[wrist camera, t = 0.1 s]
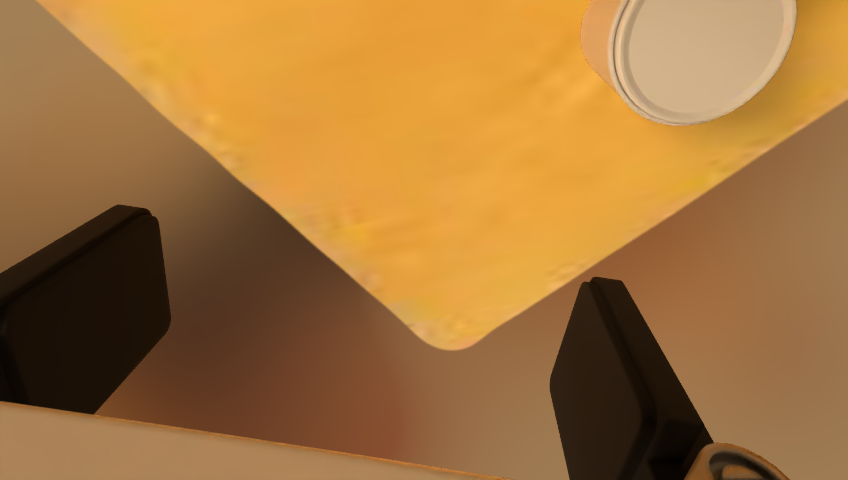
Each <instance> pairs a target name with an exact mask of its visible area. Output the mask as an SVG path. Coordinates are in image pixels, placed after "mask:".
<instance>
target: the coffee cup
mask: <svg viewBox="0 0 848 480" xmlns="http://www.w3.org/2000/svg"><path fill="white" fill-rule="evenodd" d="M796 20H797V1H796V0H591V1H590V3H589V5H588V7H587V9H586V11H585V14H584V16H583V20H582V24H581V31H580V40H581V47H582V51H583V54H584V56H585V59H586V60H587V62H588V64H589V65H590V66H591V68H592V69H593V70H594V71H595V72H596V73H597V74H598V75H599V76H600V77H601V78H602V79H603V80H604V81H605V82H606V83H607V84H608V85H609V86H610V87H611V88H612V89H613V90H614V91H616V92H617V93H618V94H619V95H620V97H621V98H622V99H623V100H624V102H625V103H626V104H627V105H628V106H629V107H630V108H631V109H632V110H634V111H635V112H636V113H638V114H639V115H641V116H643V117H645V118H647V119H649V120H651V121H654V122H657V123H661V124H666V125H674V126H688V125H696V124H701V123H705V122H708V121H712V120H714V119H717V118H719V117H722V116H724V115H726V114H728V113H730V112H732V111H734V110H736V109H737V108H739V107H740V106H742V105H743V104H745V103H746V102H748V101H749V100H750V99H752V98H753V97H754V96H755V95H756V94H757V93H758V92H760V91H761V90H762V89H763V88H764V87H765V86H766V85H767V83H768V82H769V81H770V80H771V78H772V77H773V76H774V75H775V73H776V72H777V70H778V69H779V67H780V66H781V64H782V62H783V60H784V59H785V57H786V55H787V52H788V50H789V48H790V45H791V42H792V39H793V36H794V32H795V28H796Z"/></svg>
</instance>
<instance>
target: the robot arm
mask: <svg viewBox="0 0 848 480" xmlns="http://www.w3.org/2000/svg"><path fill="white" fill-rule="evenodd" d="M170 322H171V314H170V306H169V298H168V290H167V283H166V275H165V267H164V259H163V252H162V245H161V237H160V228H159V222H158V220H157V218H156V217H154V216H152V215H151V213H150V211H149V210H147V209H145V208H138V207H132V206H125V205H116V206H114V207H112V208H110V209H108V210H107V211H105V212H104V213H102V214H100V215H99V216H97V217H95V218H94V219H92V220H90V221H88V222H86V223H85V224H83V225H82V226H80V227H78V228H76V229H75V230H73V231H71V232H70V233H68V234H66V235H65V236H63V237H61V238H60V239H58V240H56V241H54V242H53V243H51V244H50V245H48V246H46V247H44V248H43V249H41V250H39V251H37V252H36V253H34V254H32V255H31V256H29V257H28V258H26V259H24V260H22V261H21V262H19V263H17V264H16V265H14V266H12V267H10V268H9V269H7V270H5V271H4V272H2V273H0V480H513V479H507V478H501V477H495V476H489V475H482V474H476V473H470V472H463V471H457V470H451V469H445V468H438V467H432V466H425V465H419V464H413V463H406V462H401V461H394V460H388V459H381V458H375V457H369V456H362V455H356V454H349V453H344V452H337V451H331V450H324V449H318V448H311V447H304V446H298V445H292V444H285V443H278V442H272V441H266V440H259V439H252V438H245V437H239V436H232V435H226V434H219V433H213V432H206V431H200V430H193V429H186V428H180V427H173V426H166V425H159V424H153V423H146V422H139V421H132V420H125V419H119V418H112V417H105V416H98V415H94V413H95V412H96V411H97V410H98V409H99V408H100V407H101V406H102V404H103V403H104V402H105V401H106V400H107V399H108V398H109V397H110V396H111V394H112V393H113V392H114V391H115V390H116V389H117V388H118V387H119V385H120V384H121V383H122V382H123V381H124V380H125V379H126V378H127V376H128V375H129V374H130V373H131V372H132V371H133V369H135V367H136V366H137V365H138V364H139V363H140V361H142V359H143V358H144V357H145V356H146V355H147V354H148V352H150V351H151V349H152V348H153V347H154V346H155V345H156V344H157V342H159V340H160V339H161V338H162V337H163V336H164V335H165V333H166V332H167V331H168V328H169V326H170ZM550 393H551V398H552V402H553V407H554V411H555V416H556V420H557V424H558V429H559V433H560V438H561V442H562V447H563V451H564V456H565V459H566V465H567V469H568V474H569V478H570V480H790V479H789V478H788V477H786V476H785V475H784V474H783V473H782V472H781V471H780V470H779V469H778V468H777V467H776V466H774V465H773V464H771V463H770V462H768V461H767V460H766V459H764V458H763V457H761V456H759V455H757V454H755V453H753V452H751V451H749V450H747V449H745V448H742V447H739V446H736V445H733V444H728V443H714V442H713V440H712V438H711V437H710V435H709V433H708V431H707V429H706V428H705V426H704V423H703V422H702V420H701V418H700V417H699V415H698V413H697V411H696V410H695V408H694V406H693V404H692V402H691V401H690V399H689V397H688V395H687V394H686V392H685V390H684V388H683V387H682V385H681V383H680V381H679V380H678V378H677V376H676V374H675V373H674V371H673V369H672V367H671V366H670V364H669V362H668V360H667V359H666V357H665V355H664V354H663V352H662V350H661V348H660V346H659V345H658V343H657V341H656V339H655V338H654V336H653V334H652V332H651V330H650V329H649V327H648V325H647V323H646V322H645V320H644V318H643V317H642V315H641V313H640V311H639V309H638V308H637V306H636V304H635V303H634V301H633V299H632V297H631V295H630V294H629V292H628V290H627V288H626V287H625V285H624V283H623V282H622V281H620V280H614V279H607V278H601V277H593V278H592V279H591V281H590V282H583V283H582V284H581V287H580V289H579V292H578V295H577V298H576V301H575V304H574V307H573V311H572V313H571V316H570V320H569V322H568V325H567V329H566V332H565V335H564V337H563V341H562V344H561V347H560V350H559V353H558V356H557V359H556V362H555V365H554V368H553V371H552V374H551V378H550Z"/></svg>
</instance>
